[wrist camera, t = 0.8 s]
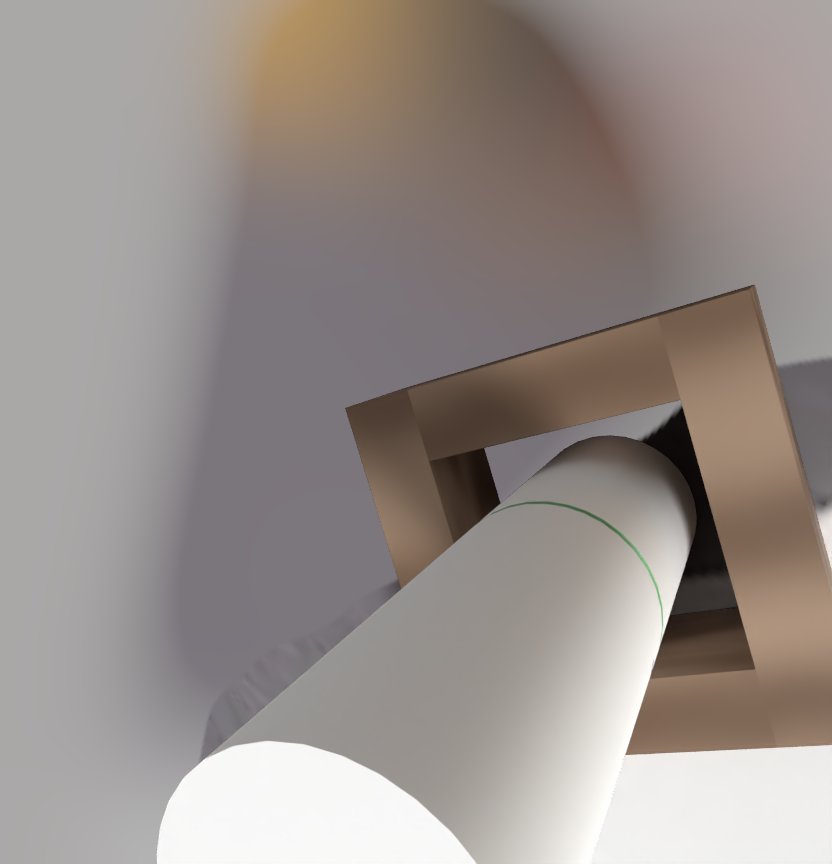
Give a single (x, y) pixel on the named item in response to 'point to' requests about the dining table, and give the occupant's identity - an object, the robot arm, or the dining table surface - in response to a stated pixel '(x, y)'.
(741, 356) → the frame
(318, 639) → the dining table surface
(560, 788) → the cylindrical container
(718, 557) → the dining table surface
